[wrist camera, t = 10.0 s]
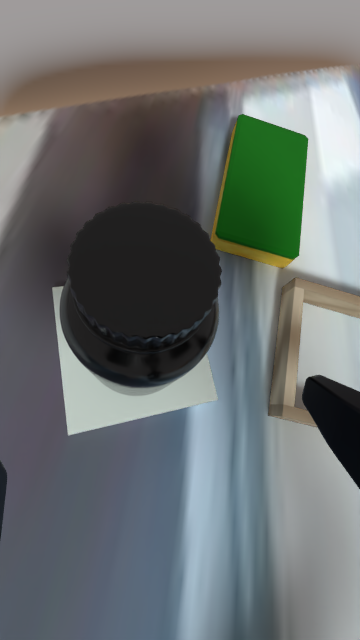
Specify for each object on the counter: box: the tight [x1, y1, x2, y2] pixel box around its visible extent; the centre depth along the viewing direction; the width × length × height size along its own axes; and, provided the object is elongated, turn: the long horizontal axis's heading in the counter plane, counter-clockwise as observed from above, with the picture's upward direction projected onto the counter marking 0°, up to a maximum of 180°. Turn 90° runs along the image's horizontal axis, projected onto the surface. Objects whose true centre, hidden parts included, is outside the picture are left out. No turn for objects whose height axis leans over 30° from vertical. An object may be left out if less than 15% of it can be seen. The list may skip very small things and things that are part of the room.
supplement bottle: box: [59, 201, 222, 396], centre depth 14 cm, size 7×7×12 cm
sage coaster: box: [52, 286, 218, 435], centre depth 20 cm, size 10×10×1 cm
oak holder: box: [268, 278, 360, 427], centre depth 22 cm, size 11×11×2 cm
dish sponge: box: [210, 114, 308, 268], centre depth 26 cm, size 7×14×2 cm, turn 168°
